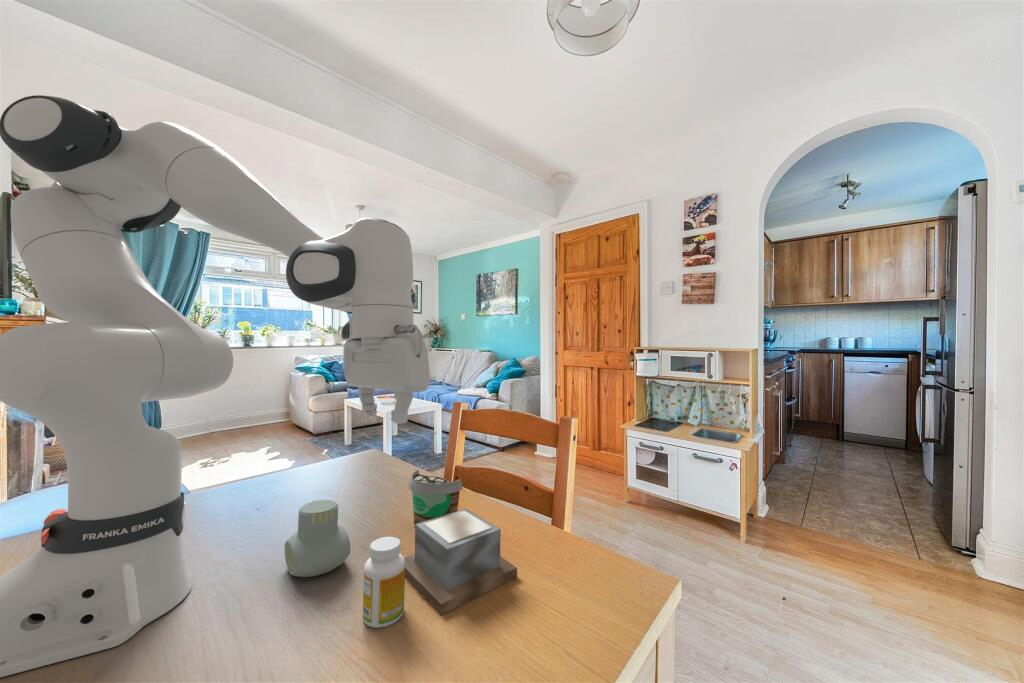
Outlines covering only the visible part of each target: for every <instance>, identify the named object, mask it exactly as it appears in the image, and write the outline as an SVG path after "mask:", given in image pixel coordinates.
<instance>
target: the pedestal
mask: <svg viewBox="0 0 1024 683" xmlns="http://www.w3.org/2000/svg"><path fill="white" fill-rule="evenodd" d="M414 527H415V528H414V530H415V532H414V553H413V554H411V555H407V556H405V557H404V559H405V579H406V580H407V582H409V583H410V584H411V585H412V586H413V587H414V588H415V590H416V591H417V592H418V593H420V595H421V596H422V597H423V599H425V600H426V601H427V603H429V605H430V606H432V608H433V609H434V610H435V611H436V612H437V613H438V614H439V615H440V616H442V615H444V614H446V613H449V612H450V611H452V610H455V609H456V608H458V607H460V606H462V605H464V604H466V603H468V602H470V601H472V600H474V599H476V598H478V597H479V596H482V595H484V594H486V593H488V592H490V591H493V590H494V589H496V588H497V587H498V588H499V587H500V586H501V585H505V584H506V583H508V582H510V581H512V580H514V579H516V578H518V567H517V566H516V565H514V564H513V563H511V562H510V561H508V560H507V559H505V558H504V557H502V556H501V531H502V530H501V528H500V527H498V526H496V525H494V524H493V523H492V522H490V521H488V520H486V519H484V518H482V517H481V516H479V515H478V514H476V513H474V512H473V511H471V510H469V509H468V508H464V509H461V510H458V511H457V512H454V513H450V514H447V515H444V516H441V517H437V518H434V519H431V520H428V521H424V522H421V523H418V524H415V526H414Z"/></svg>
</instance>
